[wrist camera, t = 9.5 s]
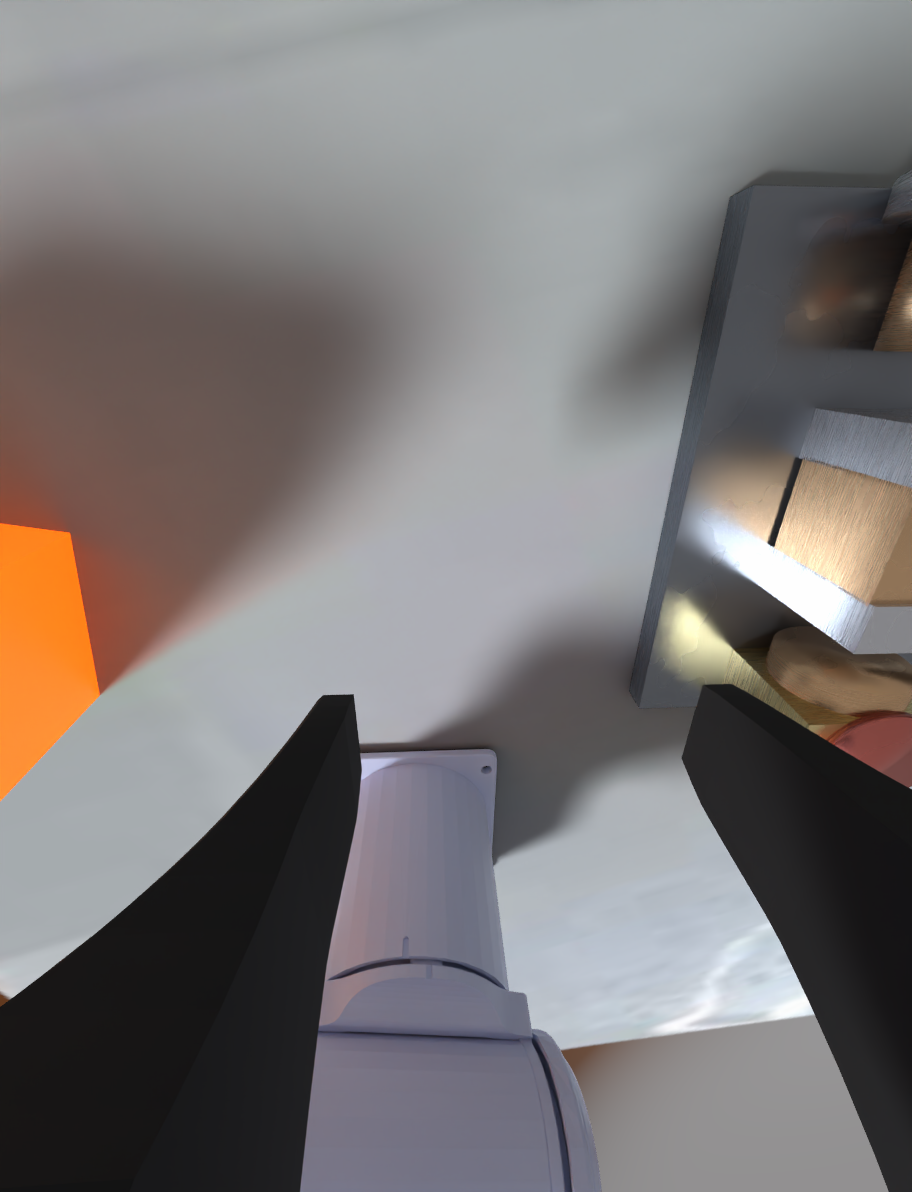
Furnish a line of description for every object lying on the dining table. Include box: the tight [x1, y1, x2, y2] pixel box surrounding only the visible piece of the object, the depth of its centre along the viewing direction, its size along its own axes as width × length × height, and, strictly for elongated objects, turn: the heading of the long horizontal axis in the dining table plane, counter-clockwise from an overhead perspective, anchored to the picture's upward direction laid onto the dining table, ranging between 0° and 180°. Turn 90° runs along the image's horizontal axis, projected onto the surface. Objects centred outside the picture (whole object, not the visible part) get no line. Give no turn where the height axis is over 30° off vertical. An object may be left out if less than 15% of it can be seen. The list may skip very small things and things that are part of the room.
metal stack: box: [629, 170, 912, 788], centre depth 16 cm, size 18×12×6 cm, turn 0°
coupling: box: [758, 408, 912, 654], centre depth 16 cm, size 6×5×5 cm
